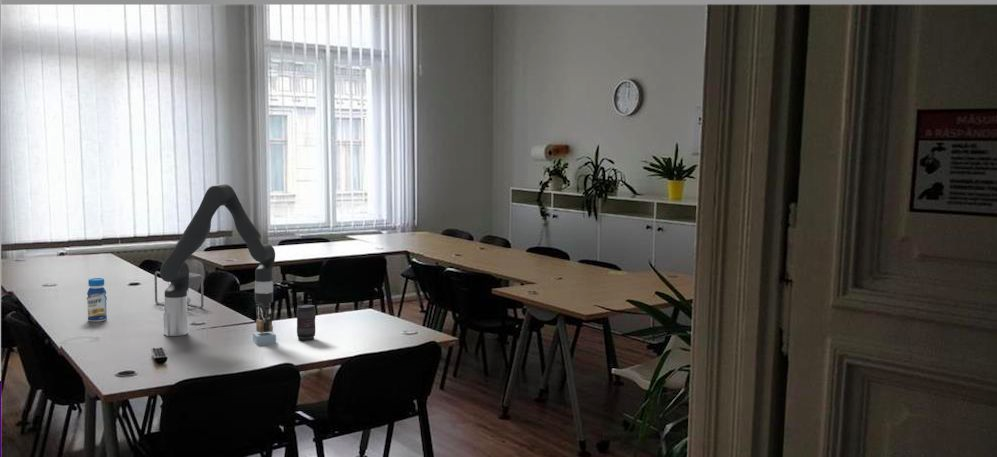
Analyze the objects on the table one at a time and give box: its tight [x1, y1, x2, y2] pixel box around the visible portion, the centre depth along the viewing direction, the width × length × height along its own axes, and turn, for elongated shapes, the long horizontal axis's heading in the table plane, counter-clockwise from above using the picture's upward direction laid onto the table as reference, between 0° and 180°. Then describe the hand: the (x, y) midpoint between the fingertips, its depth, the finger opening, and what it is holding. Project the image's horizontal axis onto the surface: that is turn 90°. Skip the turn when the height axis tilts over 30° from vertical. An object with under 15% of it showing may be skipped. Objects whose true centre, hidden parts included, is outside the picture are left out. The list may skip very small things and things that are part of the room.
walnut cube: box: [255, 318, 273, 333], centre depth 342 cm, size 5×5×5 cm
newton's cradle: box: [153, 270, 205, 311], centre depth 416 cm, size 30×10×18 cm, turn 52°
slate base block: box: [252, 331, 277, 346], centre depth 342 cm, size 8×8×4 cm
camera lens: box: [296, 304, 317, 342], centre depth 348 cm, size 8×8×15 cm
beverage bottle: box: [86, 277, 108, 323], centre depth 378 cm, size 8×8×20 cm
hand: (264, 329), depth 342 cm, fingers closed on walnut cube, 5 cm apart
